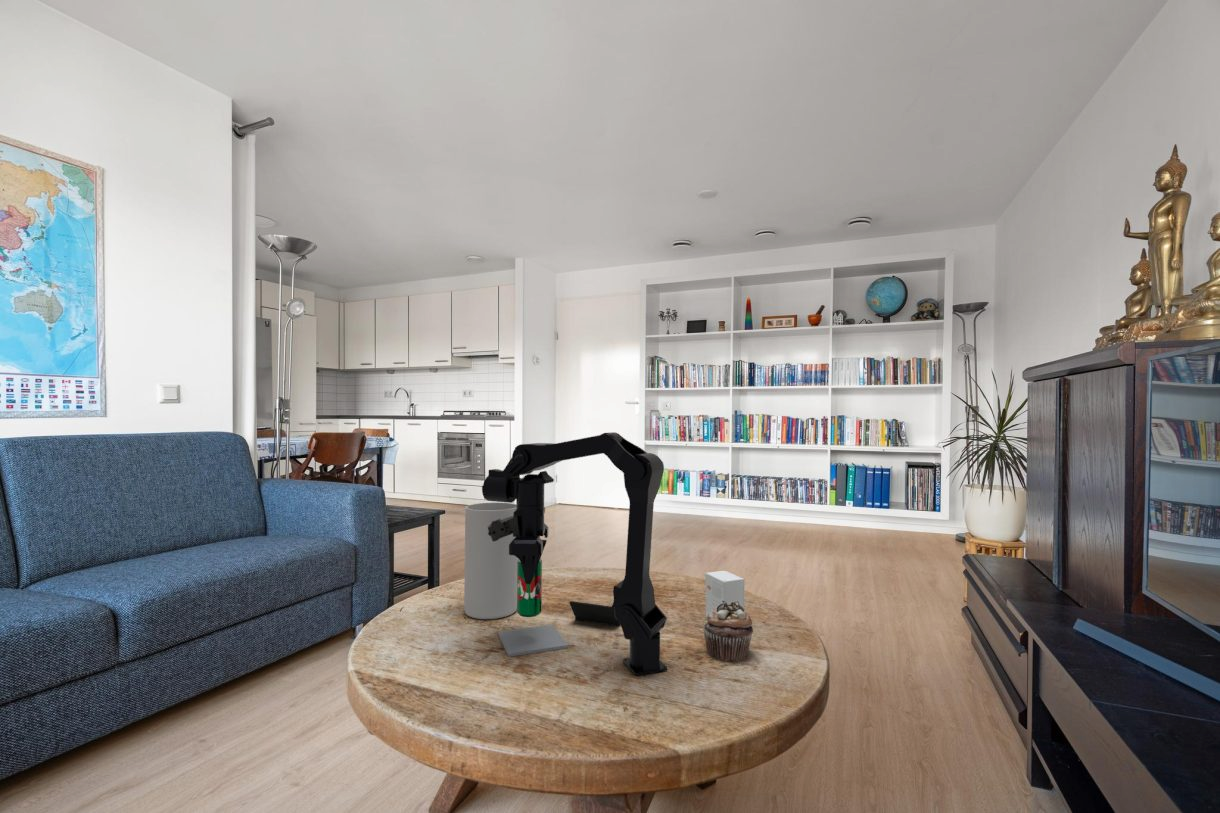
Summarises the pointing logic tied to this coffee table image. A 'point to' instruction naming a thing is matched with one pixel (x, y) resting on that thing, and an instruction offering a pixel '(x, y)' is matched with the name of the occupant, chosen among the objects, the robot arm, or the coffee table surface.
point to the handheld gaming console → (594, 613)
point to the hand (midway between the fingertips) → (529, 579)
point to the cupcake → (728, 632)
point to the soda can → (529, 592)
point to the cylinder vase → (488, 564)
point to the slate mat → (531, 640)
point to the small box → (723, 589)
